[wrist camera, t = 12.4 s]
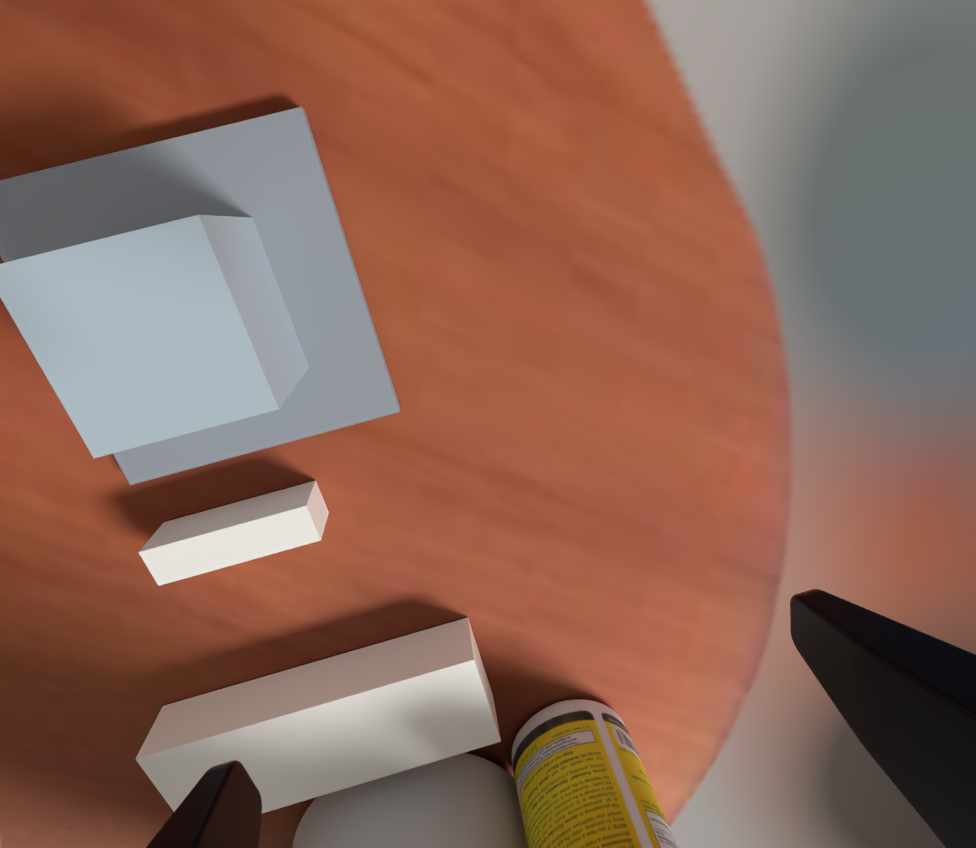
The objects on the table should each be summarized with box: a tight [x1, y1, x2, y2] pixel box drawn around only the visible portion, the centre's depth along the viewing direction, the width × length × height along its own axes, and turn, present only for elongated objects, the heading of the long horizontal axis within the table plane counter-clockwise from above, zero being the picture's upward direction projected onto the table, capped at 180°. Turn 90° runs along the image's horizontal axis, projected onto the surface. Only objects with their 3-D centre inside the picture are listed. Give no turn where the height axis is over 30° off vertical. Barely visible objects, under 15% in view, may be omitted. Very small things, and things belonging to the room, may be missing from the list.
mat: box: [0, 107, 400, 485], centre depth 17 cm, size 10×10×1 cm
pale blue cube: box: [0, 215, 309, 458], centre depth 15 cm, size 5×5×4 cm
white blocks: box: [136, 480, 501, 813], centre depth 22 cm, size 14×14×2 cm
